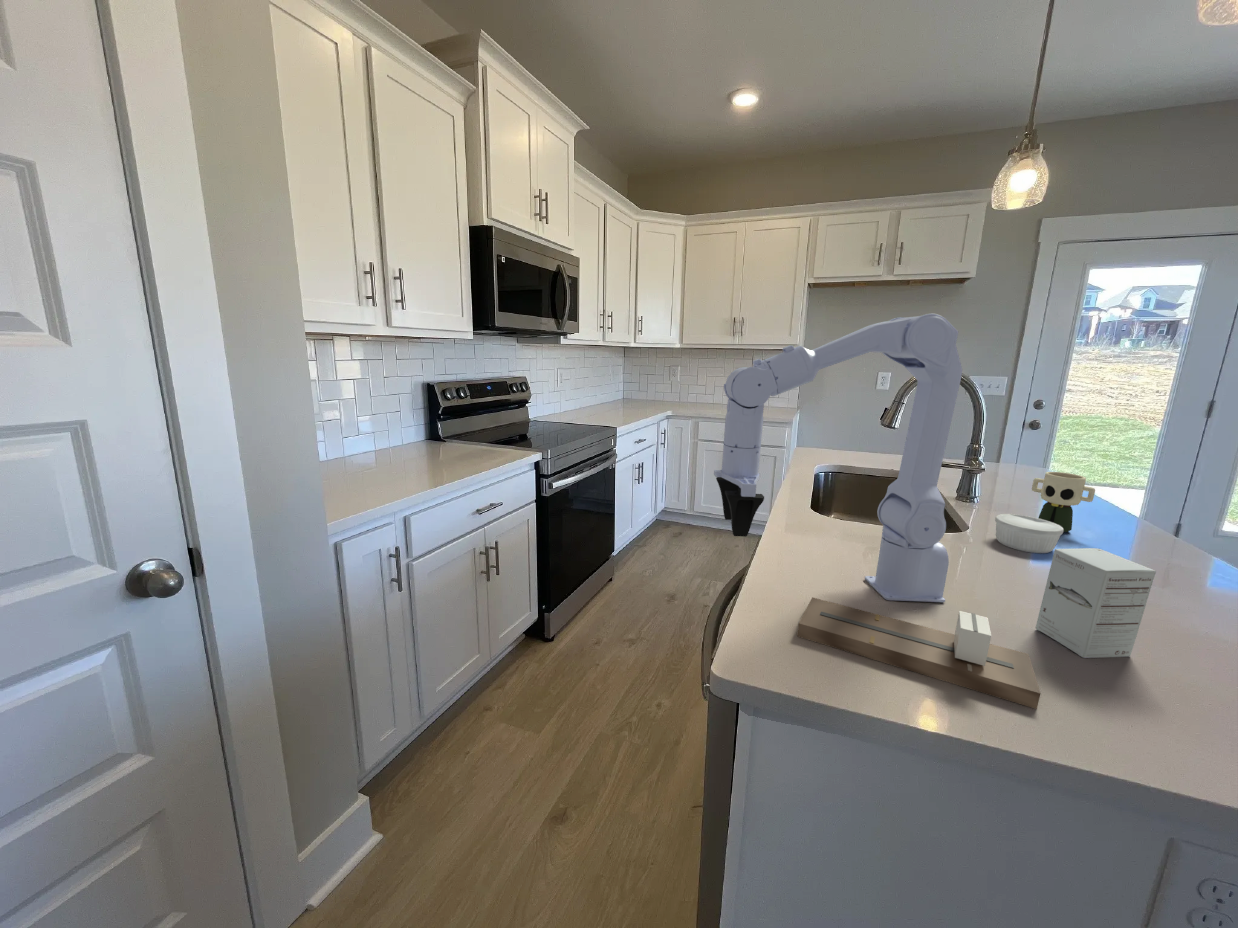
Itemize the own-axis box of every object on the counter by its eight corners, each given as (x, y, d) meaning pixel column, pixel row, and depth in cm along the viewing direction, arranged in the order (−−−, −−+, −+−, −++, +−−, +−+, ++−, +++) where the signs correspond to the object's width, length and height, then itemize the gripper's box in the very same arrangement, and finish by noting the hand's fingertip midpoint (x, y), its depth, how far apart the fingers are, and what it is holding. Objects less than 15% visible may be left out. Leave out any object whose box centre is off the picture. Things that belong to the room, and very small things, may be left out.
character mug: (1019, 525, 119) (1030, 472, 116) (1028, 520, 123) (1040, 468, 121) (1079, 539, 111) (1093, 482, 108) (1087, 533, 115) (1101, 478, 112)
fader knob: (981, 645, 64) (987, 616, 63) (984, 665, 60) (991, 634, 59) (953, 638, 66) (959, 609, 65) (954, 657, 62) (960, 627, 61)
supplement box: (1032, 628, 73) (1051, 547, 71) (1079, 627, 74) (1100, 546, 71) (1082, 659, 66) (1105, 569, 63) (1133, 658, 67) (1159, 569, 64)
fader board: (1025, 667, 64) (1028, 653, 64) (1036, 708, 56) (1040, 692, 56) (810, 609, 77) (812, 596, 77) (797, 636, 70) (798, 622, 69)
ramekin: (1053, 543, 108) (1058, 520, 107) (1063, 560, 99) (1069, 535, 98) (989, 532, 114) (993, 510, 113) (993, 547, 105) (998, 523, 104)
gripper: (710, 436, 87) (704, 512, 90) (724, 453, 72) (717, 542, 75) (751, 437, 86) (744, 513, 89) (773, 455, 72) (765, 544, 75)
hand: (735, 527), depth 82 cm, fingers open, 7 cm apart
